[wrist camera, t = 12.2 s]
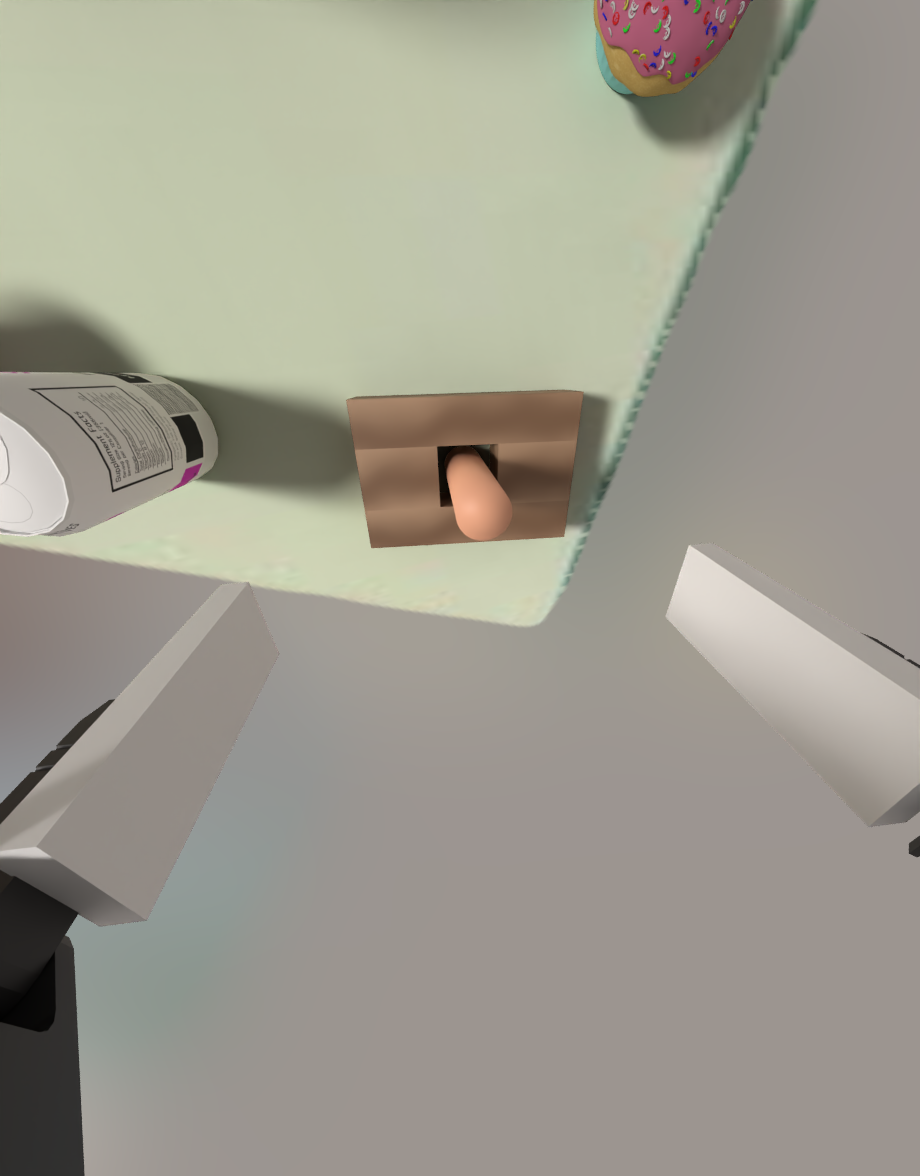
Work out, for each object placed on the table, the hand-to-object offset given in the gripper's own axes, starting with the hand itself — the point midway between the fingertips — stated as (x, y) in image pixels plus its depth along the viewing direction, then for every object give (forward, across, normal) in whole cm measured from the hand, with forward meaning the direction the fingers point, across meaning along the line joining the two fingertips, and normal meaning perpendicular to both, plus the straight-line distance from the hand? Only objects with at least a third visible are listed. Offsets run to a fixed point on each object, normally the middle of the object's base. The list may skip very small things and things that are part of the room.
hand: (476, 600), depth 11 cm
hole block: (+26, +2, -2) cm, 26 cm away
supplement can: (+26, -23, +3) cm, 35 cm away
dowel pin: (+26, +2, -2) cm, 26 cm away
